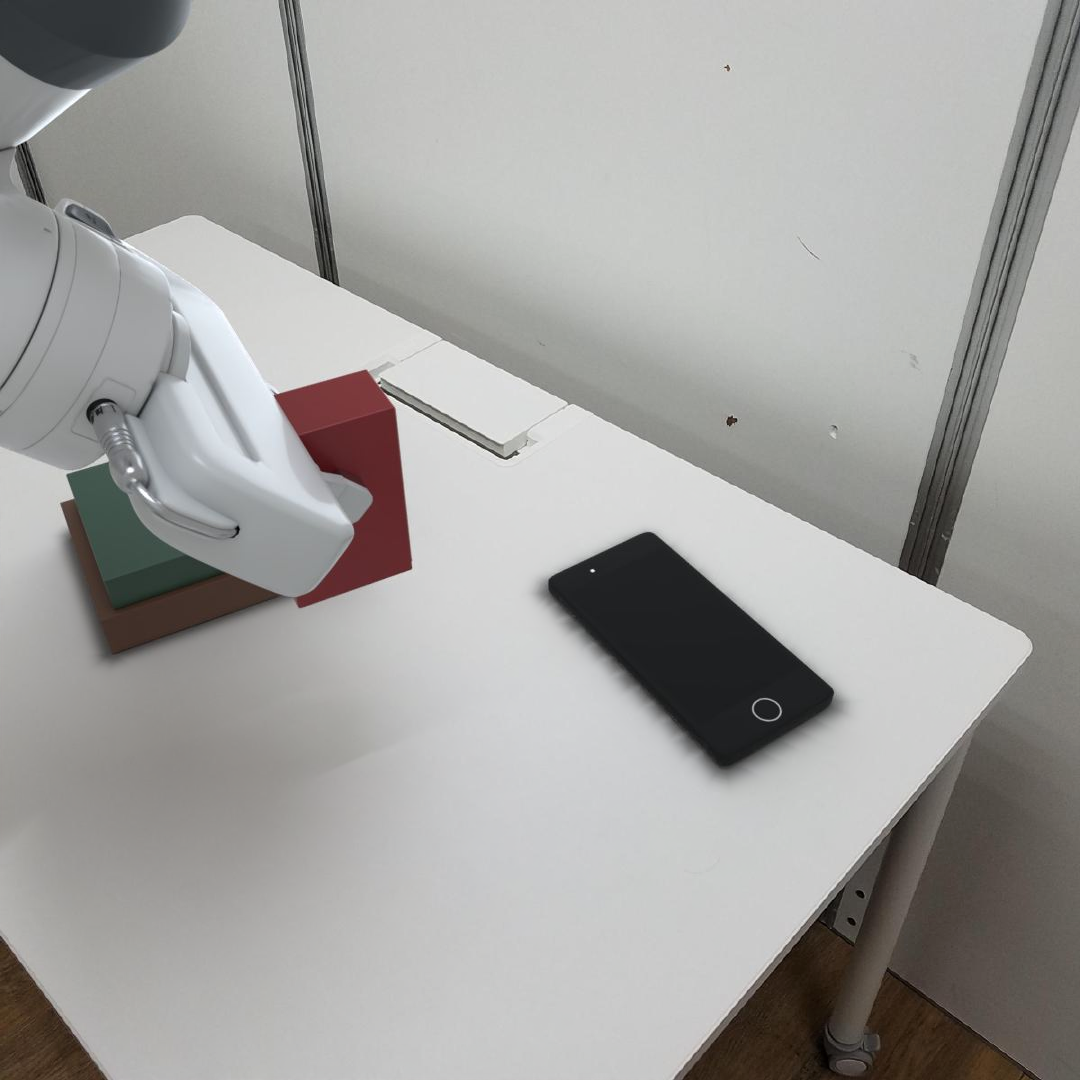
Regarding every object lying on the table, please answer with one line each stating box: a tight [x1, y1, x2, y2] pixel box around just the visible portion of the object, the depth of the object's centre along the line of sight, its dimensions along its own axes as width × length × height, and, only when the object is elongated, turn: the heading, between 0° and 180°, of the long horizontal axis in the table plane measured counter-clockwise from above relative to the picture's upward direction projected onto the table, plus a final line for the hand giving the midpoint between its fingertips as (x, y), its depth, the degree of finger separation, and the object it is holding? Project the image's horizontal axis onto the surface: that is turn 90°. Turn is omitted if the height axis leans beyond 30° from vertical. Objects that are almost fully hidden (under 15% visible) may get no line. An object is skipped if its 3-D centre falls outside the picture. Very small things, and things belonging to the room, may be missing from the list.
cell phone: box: [547, 531, 835, 767], centre depth 70 cm, size 9×18×1 cm, turn 34°
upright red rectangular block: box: [273, 369, 413, 609], centre depth 53 cm, size 6×4×10 cm, turn 118°
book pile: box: [60, 461, 281, 655], centre depth 76 cm, size 18×13×6 cm
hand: (341, 473), depth 53 cm, fingers closed on upright red rectangular block, 3 cm apart
